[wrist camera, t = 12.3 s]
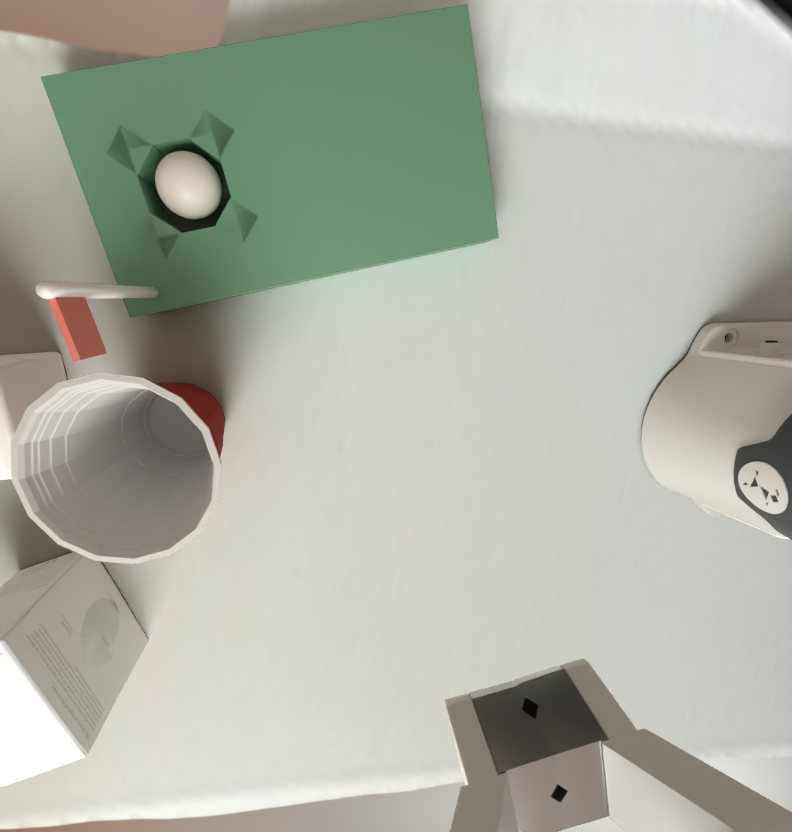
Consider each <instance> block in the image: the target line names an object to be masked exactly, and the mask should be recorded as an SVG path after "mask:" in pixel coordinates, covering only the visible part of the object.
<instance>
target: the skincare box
mask: <svg viewBox="0 0 792 832" xmlns="http://www.w3.org/2000/svg"><path fill="white" fill-rule="evenodd" d="M147 643H148V639H147V637H146V635H145V634H144V632H143V630H142V629H141V627H140V625H139V624H138V622H137V620H136V619H135V617H134V615H133V614H132V612H131V610H130V609H129V607H128V606H127V604H126V602H125V601H124V599H123V597H122V596H121V594H120V592H119V591H118V589H117V587H116V586H115V584H114V582H113V581H112V579H111V577H110V576H109V574H108V573H107V571H106V570H105V568H104V566H103V565H102V563H101V561H95V560H92V559H90V558H88V557H85V556H83V555H81V554H79V553H76V552H72V553H69V554H66V555H63V556H60V557H57V558H54V559H51V560H48V561H45V562H43V563H40V564H37V565H34V566H31V567H28V568H26V569H23V570H20V571H19V572H18V573H17V574H15V575H14V576H13V577H12V578H11V579H10V580H9V581H8V582H7V583H5V584H4V585H3V586H2V587H1V588H0V787H3V786H6V785H9V784H12V783H15V782H18V781H21V780H23V779H26V778H29V777H32V776H35V775H37V774H40V773H43V772H46V771H49V770H51V769H54V768H57V767H60V766H63V765H65V764H68V763H71V762H74V761H76V760H79V759H82V758H85V757H86V756H87V754H88V753H89V752H90V750H91V748H92V745H93V744H94V742H95V740H96V738H97V736H98V734H99V732H100V730H101V728H102V726H103V724H104V722H105V720H106V718H107V716H108V714H109V713H110V711H111V709H112V707H113V705H114V703H115V701H116V699H117V697H118V695H119V694H120V692H121V690H122V688H123V686H124V684H125V682H126V681H127V679H128V677H129V675H130V673H131V671H132V669H133V668H134V666H135V664H136V662H137V660H138V658H139V657H140V655H141V653H142V651H143V650H144V648H145V646H146V645H147Z"/></svg>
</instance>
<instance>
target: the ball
mask: <svg viewBox="0 0 792 832" xmlns="http://www.w3.org/2000/svg"><path fill="white" fill-rule="evenodd" d="M155 185H156V189H157V192H158V194H159V196H160V198H161V200H162V201H163V203H164V204H165V205H166V206H167V207H168V208H169V209H170V210H171V211H173V212H174V213H176V214H177V215H179V216H182V217H184V218H188V219H202V218H205V217H207V216H209V215H211V214H212V213H213V212H214V211H215V210H216V209H217V208H218V206H219V204H220V201H221V198H222V185H221V181H220V178H219V176H218V174H217V172H216V170H215V169H214V167H213V166H212V165H211V164H210V163H209V162H208V161H207V160H206V159H204V158H203V157H201V156H200V155H198V154H195V153H193V152H189V151H176V152H172V153H170V154H168V155H166V156H165V157H164V158H163V159H162V160H161V161H160V163H159V164H158V166H157V169H156V173H155Z"/></svg>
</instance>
